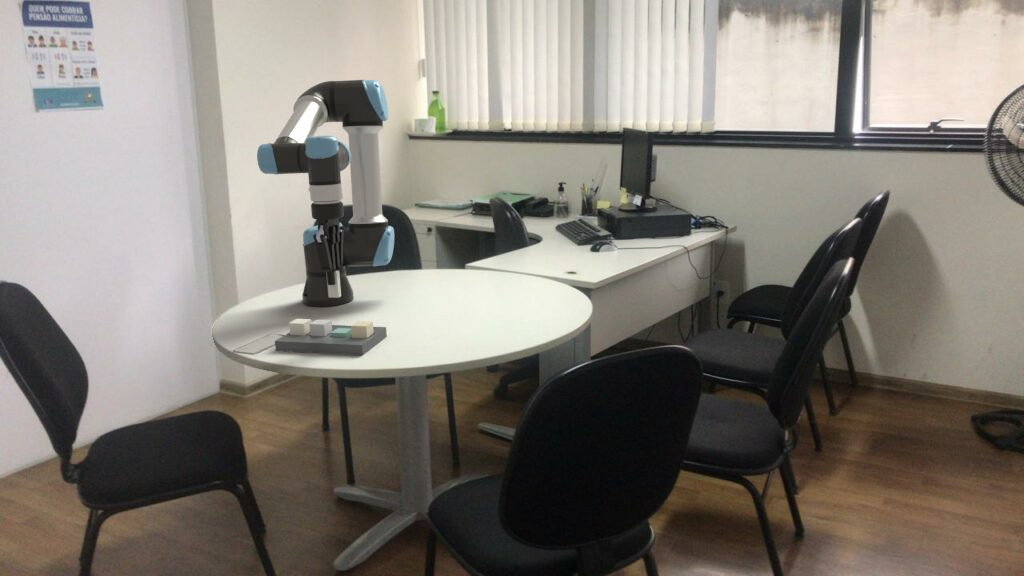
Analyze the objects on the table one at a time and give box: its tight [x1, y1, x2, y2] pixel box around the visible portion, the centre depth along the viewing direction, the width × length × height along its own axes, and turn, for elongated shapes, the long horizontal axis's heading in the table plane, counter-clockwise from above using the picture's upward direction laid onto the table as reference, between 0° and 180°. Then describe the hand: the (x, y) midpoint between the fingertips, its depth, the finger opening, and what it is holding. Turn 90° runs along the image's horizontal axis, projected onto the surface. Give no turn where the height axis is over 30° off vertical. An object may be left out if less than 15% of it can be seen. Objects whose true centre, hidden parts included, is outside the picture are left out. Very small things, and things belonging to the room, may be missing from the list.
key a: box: [288, 318, 312, 336], centre depth 200 cm, size 4×4×3 cm
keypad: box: [274, 324, 388, 356], centre depth 199 cm, size 15×23×2 cm, turn 77°
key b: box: [309, 319, 333, 337], centre depth 199 cm, size 4×4×3 cm
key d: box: [350, 320, 374, 338], centre depth 196 cm, size 4×4×3 cm
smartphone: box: [232, 333, 285, 355], centre depth 201 cm, size 7×1×15 cm
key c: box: [331, 328, 352, 338], centre depth 198 cm, size 4×4×3 cm
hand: (334, 296), depth 196 cm, fingers closed
